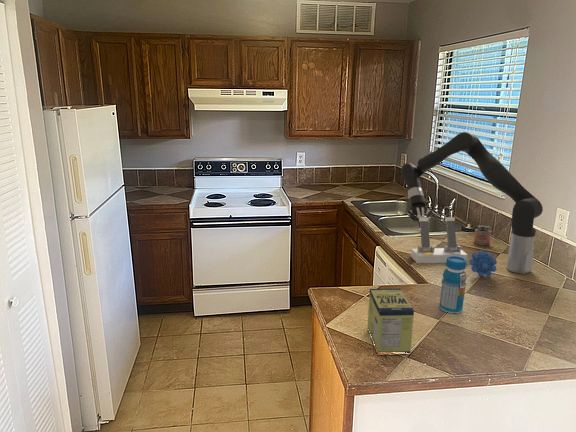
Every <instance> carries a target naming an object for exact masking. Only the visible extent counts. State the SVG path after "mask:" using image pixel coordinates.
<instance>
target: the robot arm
mask: <svg viewBox="0 0 576 432" xmlns="http://www.w3.org/2000/svg"><path fill="white" fill-rule="evenodd" d="M460 152H464V153H465V154H467V155H468V156H469V157H470V158H471V159H472V160H473V161H475V163H476V164H477V166H478V168H479V171H480V173H481V174H482V175H483V177H484V178H485V179H486V180H487V182H489V184H490V185H491V186H493V187H494V188H495V189H497V190H498V191H500V192H502V193H503V194H505V195H507V196H508V197H510V199H512V200H513V202H514V205H513V208H512V214H511V222H510V223H511V224H510V226H511V235H510V241H509V247H508V253H507V254H508V255H507V262H506V268H505V269H507V270H508V271H509V272H512V273H516V274H521V275H526V274H528V273H531V272H532V267H533V262H534V257H535V251H533V249H534V243H535V240H536V239H535V238H536V232H537V230H536V228H535V227H534V223H535V222H534V221H535V218H538V217H540V216H541V215H542V213H543V211H544V210H543V204H542V202H541V201H540V200H539V199H538V198H536V197H535V196H534V195H533V194H532V193H530V192H529V191H528V190H527V189H526V188H525V187H524V186H523V185H522V184H521V183H520V182H519V181H518V180H517V178H516V177H515V176H513V174H512V173H511V172H510V171H509V170H508V168H506V167H505V166H504V165H503V164H502V163H501V162H500V161H499V160H498V159H497V158H496V157H495V156H494V155H493V154H492V153H490V152H489V150H487V148H486V146H484V144H483V143H482V141H481V140H480V139H479V137H478V136H477V135H475V134H474V133H471V132H468V131H463V132H460V133H458V134H456V135H455V136H454V137H452V138H451V139H450V140H449V141H447V142H446V143H444V144H443V145H442V146H440V147H439V148H437V149H436V150H433V151H432V152H430V153H427V154H426V155H425V156H423V157H420V158H419V159H418V161H417V165H414V164H413V163H411V162H406V163H404V164H403V165H402V167H401V170H400V172H401V176H402V179H403V182H405V185H406V190H407V197H408V202H409V206H410V208H409V209H410V210H407V213H406V215H407V217H409V218H410V219H411V220H412V221H413V222H417V224H418V228H419V229H420V222H419V218H426V217H428V218H430V216H431V215H432V213H433V210H430V209H428V207H427V204H426V200H425V194H424V191H423V187H422V185H421V181H420V179H419V178H421V177H422V176H423V175H424V174H425V173H426V172H427V171H428V170H431V169H433V168H435V167H436V166H438V165H439V164H441V163H442V162H443V161H444V160H446V159H447V158H448V157H450V156H451V155H454V154H457V153H460ZM425 214H426V217H425Z"/></svg>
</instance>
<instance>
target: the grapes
mask: <svg viewBox="0 0 576 432" xmlns="http://www.w3.org/2000/svg"><path fill="white" fill-rule="evenodd" d="M468 263H469V264H470V265H471V271H472V272H474V273H477V275H478V276H480V277H484V276H486V277H491V276H492V273H494V272H497V267H496V265H497V264H498V262H497V259H496V258H493V254H492V253H491V252H485V251H484V250H482V249H481V250H478V252H477V253H476V252H473V253H472V254H471V258H470V259H469V261H468Z"/></svg>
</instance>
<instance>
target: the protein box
mask: <svg viewBox="0 0 576 432" xmlns="http://www.w3.org/2000/svg"><path fill="white" fill-rule="evenodd" d="M368 299H369V300H368V315H367V329H369V331H370V334H371V336H372V339H373V341H374V344H375V346H376V349H377V351H378V352H405V353H406V352H407V353H410V354H411V348H412V338H413V327H414V326H413V325H414V317H415V315H414V314H415V309H414V308H413V306H412V305H411V303H410V301H409V300H408V299H407V297H406V295H405V294H404V292H403V291H402V289H401V288H369V297H368Z"/></svg>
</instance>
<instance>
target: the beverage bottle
mask: <svg viewBox="0 0 576 432" xmlns="http://www.w3.org/2000/svg"><path fill="white" fill-rule="evenodd" d="M445 266H446V269H445V270H444V271H443V273H442V279H441V287H440V288H441V290H440V298H439V299H440V300H439V306H438V307H439V308H440V310H441V311H443V312H444V313H447V312H448V314H453V313H456V314H460V313H461V312H463V308H464V301H465V292H466V287H467V282H466V281H467V277H468V276H467V273H466V272H465V270H466V268H467V262H466V259H464V258H462V257H458V256H449V257H447V260H446V263H445Z"/></svg>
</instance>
